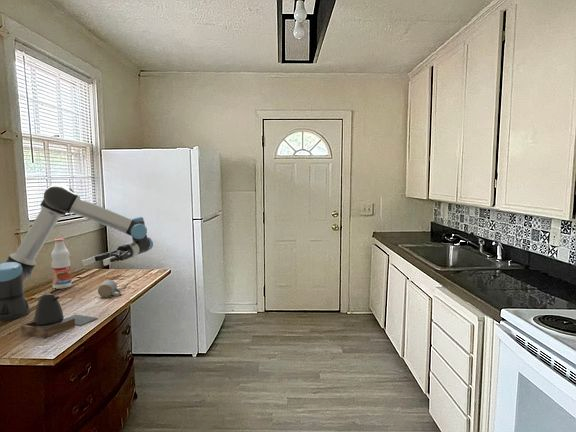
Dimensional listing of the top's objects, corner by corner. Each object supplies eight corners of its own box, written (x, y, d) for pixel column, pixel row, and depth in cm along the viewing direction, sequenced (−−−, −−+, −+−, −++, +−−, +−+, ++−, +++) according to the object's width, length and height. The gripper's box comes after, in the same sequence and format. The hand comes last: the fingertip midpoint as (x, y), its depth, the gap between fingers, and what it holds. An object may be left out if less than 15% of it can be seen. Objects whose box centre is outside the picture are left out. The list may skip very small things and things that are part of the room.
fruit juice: (63, 284, 224) (61, 237, 221) (75, 285, 220) (72, 238, 218) (48, 288, 215) (45, 239, 212) (60, 289, 212) (57, 240, 209)
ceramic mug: (97, 298, 196) (96, 283, 195) (102, 293, 204) (102, 279, 203) (118, 297, 197) (118, 283, 197) (123, 293, 205) (122, 279, 205)
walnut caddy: (21, 333, 150) (21, 325, 149) (51, 322, 162) (51, 314, 161) (46, 338, 145) (45, 329, 145) (75, 326, 157) (74, 318, 157)
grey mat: (57, 322, 162) (57, 321, 162) (75, 315, 170) (75, 314, 170) (80, 326, 158) (80, 325, 157) (97, 318, 166) (97, 317, 166)
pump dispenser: (50, 335, 148) (48, 298, 146) (28, 333, 150) (25, 296, 149) (70, 326, 158) (68, 290, 156) (49, 324, 160) (47, 289, 158)
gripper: (147, 257, 190) (114, 270, 171) (111, 258, 200) (76, 271, 181) (144, 242, 189) (111, 254, 170) (108, 244, 199) (73, 256, 180)
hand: (93, 263), depth 176 cm, fingers open, 13 cm apart
